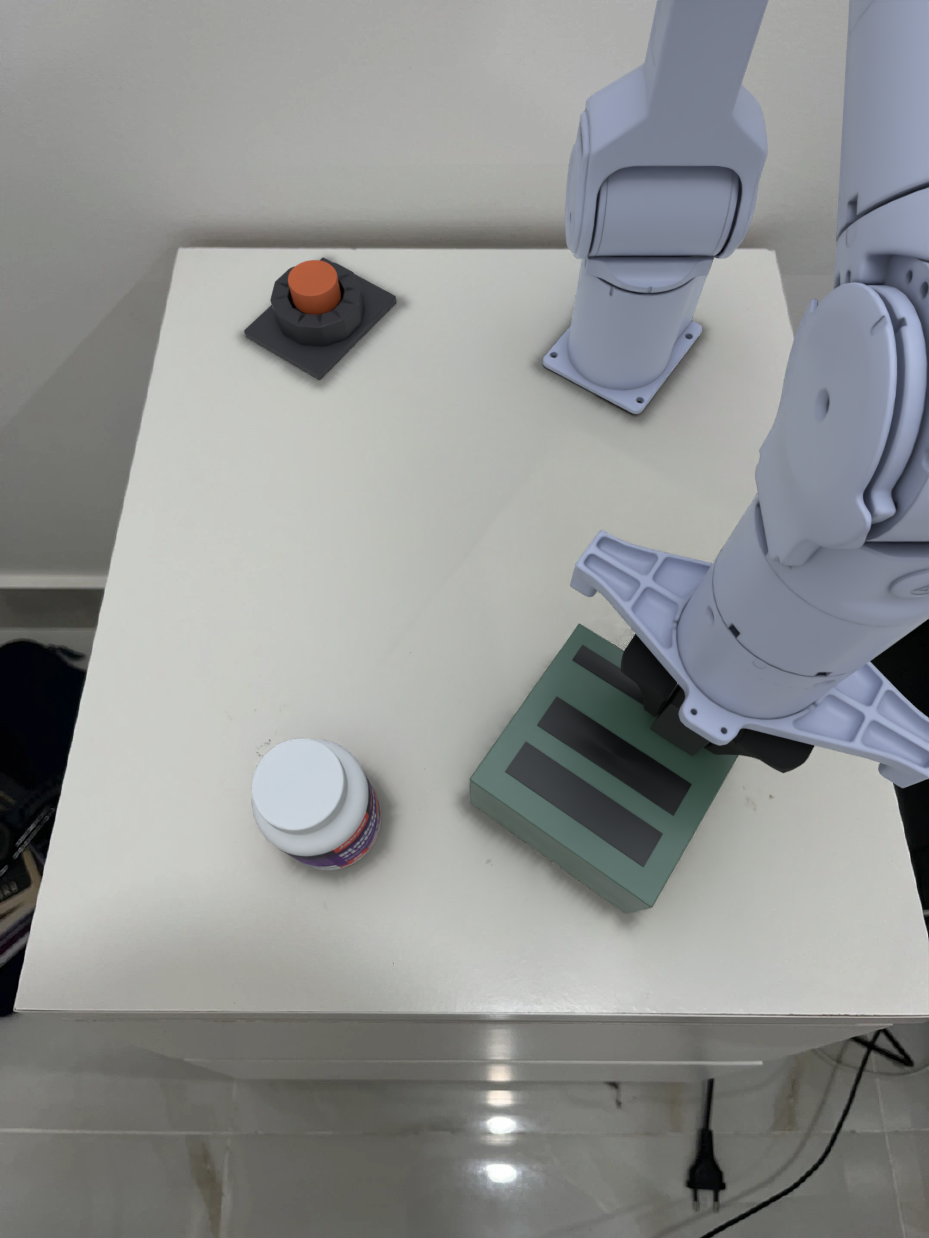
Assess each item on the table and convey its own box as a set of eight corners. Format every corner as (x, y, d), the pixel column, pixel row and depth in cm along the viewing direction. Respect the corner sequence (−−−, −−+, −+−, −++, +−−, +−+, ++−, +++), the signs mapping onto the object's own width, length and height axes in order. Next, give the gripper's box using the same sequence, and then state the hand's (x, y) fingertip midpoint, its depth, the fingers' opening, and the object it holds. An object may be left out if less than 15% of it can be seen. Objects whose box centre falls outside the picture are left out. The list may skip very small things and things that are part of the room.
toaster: (565, 662, 45) (579, 621, 39) (716, 758, 43) (754, 729, 37) (468, 802, 42) (469, 778, 36) (626, 914, 39) (652, 908, 34)
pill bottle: (369, 880, 40) (340, 860, 31) (271, 859, 41) (215, 833, 32) (393, 780, 42) (373, 734, 33) (300, 761, 43) (256, 711, 34)
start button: (313, 273, 55) (309, 252, 53) (350, 293, 54) (347, 273, 53) (283, 301, 54) (277, 282, 52) (320, 322, 53) (315, 303, 51)
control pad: (324, 264, 58) (318, 236, 56) (397, 303, 57) (394, 276, 54) (245, 337, 55) (236, 311, 53) (319, 381, 54) (313, 355, 51)
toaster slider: (679, 681, 38) (701, 652, 34) (722, 707, 37) (749, 681, 34) (649, 729, 37) (669, 704, 33) (693, 757, 36) (718, 735, 33)
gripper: (542, 568, 25) (517, 697, 37) (979, 833, 21) (790, 877, 34) (650, 423, 27) (593, 591, 39) (1060, 641, 24) (855, 749, 36)
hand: (688, 715), depth 37 cm, fingers open, 3 cm apart
